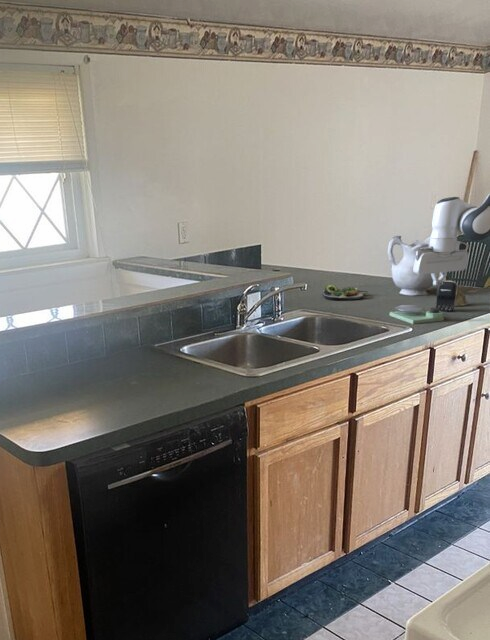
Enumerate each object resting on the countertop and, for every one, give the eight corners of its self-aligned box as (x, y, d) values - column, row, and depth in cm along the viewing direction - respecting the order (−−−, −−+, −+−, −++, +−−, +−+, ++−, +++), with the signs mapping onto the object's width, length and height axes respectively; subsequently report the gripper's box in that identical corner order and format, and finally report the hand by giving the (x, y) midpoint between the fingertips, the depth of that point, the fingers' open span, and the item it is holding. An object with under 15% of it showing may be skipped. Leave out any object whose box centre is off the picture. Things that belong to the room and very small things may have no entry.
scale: (445, 320, 241) (446, 312, 240) (413, 324, 238) (414, 316, 237) (419, 312, 255) (420, 304, 253) (389, 315, 251) (390, 308, 250)
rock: (472, 298, 263) (448, 292, 269) (472, 283, 256) (447, 277, 262) (459, 318, 260) (435, 311, 266) (458, 303, 254) (434, 297, 260)
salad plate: (364, 291, 294) (364, 281, 292) (371, 300, 278) (372, 289, 276) (320, 292, 296) (320, 282, 294) (325, 301, 280) (326, 290, 278)
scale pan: (429, 310, 244) (429, 309, 243) (405, 313, 241) (405, 311, 241) (412, 305, 253) (413, 303, 252) (390, 308, 250) (390, 306, 250)
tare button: (440, 313, 241) (441, 309, 240) (433, 314, 240) (433, 309, 239) (435, 311, 243) (435, 307, 243) (428, 312, 243) (428, 308, 242)
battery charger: (433, 311, 255) (436, 281, 250) (436, 309, 258) (439, 280, 253) (452, 313, 251) (456, 283, 247) (454, 311, 254) (458, 281, 249)
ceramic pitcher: (392, 301, 280) (400, 241, 268) (377, 289, 297) (384, 232, 285) (442, 298, 280) (452, 239, 268) (424, 287, 297) (433, 230, 286)
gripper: (422, 248, 227) (418, 288, 232) (472, 244, 232) (467, 283, 237) (411, 246, 233) (407, 285, 238) (460, 242, 237) (455, 281, 243)
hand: (437, 284), depth 238 cm, fingers closed
